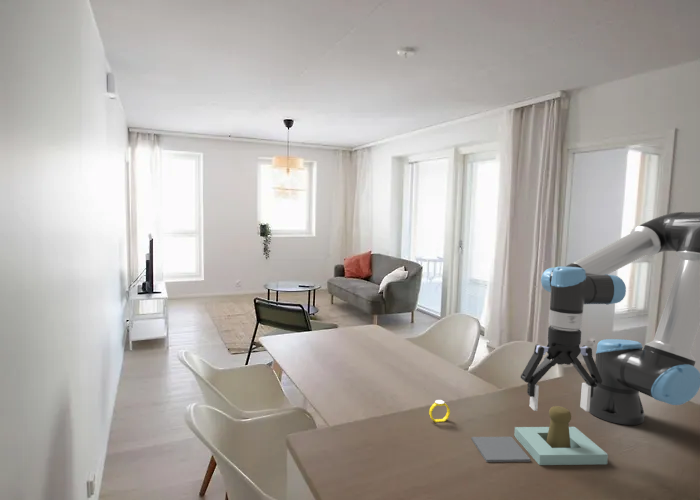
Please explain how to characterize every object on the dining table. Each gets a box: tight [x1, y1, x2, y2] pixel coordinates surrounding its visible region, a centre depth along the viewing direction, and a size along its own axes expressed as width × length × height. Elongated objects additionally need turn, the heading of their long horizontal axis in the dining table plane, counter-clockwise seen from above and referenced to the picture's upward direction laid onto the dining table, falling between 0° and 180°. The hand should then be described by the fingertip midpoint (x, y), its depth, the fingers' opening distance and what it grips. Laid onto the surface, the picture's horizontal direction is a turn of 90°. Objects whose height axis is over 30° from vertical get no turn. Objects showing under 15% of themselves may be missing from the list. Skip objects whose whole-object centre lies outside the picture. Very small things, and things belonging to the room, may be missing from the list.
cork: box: [546, 405, 572, 448], centre depth 111 cm, size 6×6×11 cm
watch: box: [428, 399, 451, 423], centre depth 126 cm, size 6×3×6 cm, turn 102°
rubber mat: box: [471, 436, 532, 463], centre depth 110 cm, size 11×11×1 cm
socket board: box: [514, 426, 609, 466], centre depth 111 cm, size 17×14×2 cm
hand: (559, 408), depth 110 cm, fingers open, 13 cm apart
